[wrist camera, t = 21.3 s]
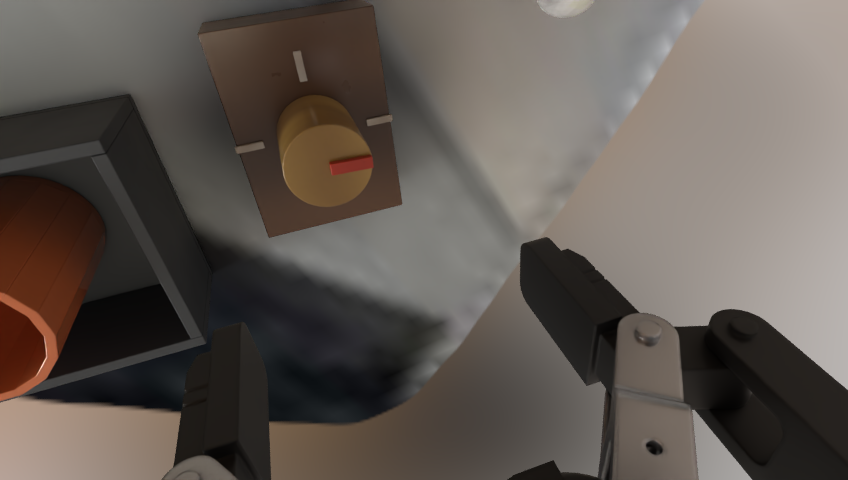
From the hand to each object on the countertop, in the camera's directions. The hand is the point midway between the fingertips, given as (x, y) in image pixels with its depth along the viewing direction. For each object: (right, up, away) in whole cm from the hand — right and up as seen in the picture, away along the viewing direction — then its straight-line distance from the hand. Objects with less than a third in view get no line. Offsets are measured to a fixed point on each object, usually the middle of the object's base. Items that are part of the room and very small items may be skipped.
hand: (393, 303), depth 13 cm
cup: (-20, +2, +12) cm, 23 cm away
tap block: (-6, +9, +14) cm, 17 cm away
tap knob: (-5, +7, +11) cm, 14 cm away
